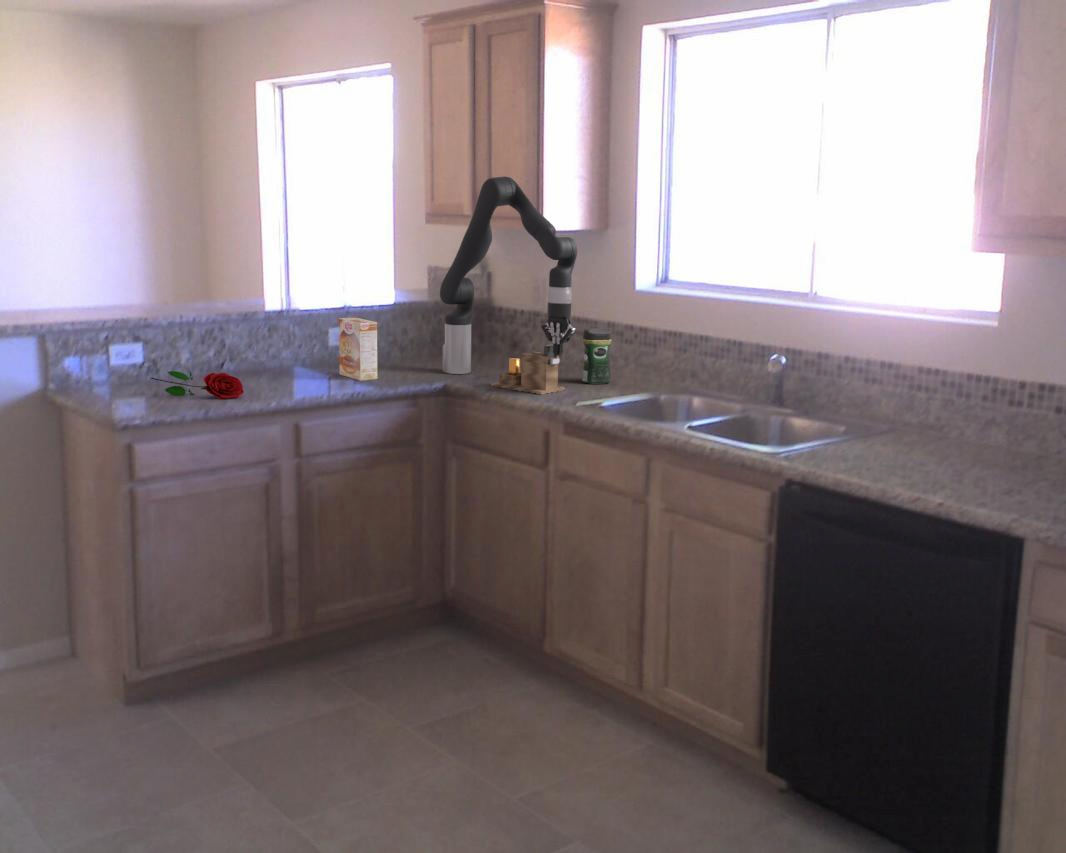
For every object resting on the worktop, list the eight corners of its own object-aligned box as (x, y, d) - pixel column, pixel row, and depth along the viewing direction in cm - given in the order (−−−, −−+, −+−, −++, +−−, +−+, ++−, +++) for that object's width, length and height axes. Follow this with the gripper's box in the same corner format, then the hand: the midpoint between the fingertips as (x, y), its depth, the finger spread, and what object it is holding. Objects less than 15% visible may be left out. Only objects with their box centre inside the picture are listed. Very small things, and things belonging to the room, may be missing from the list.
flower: (146, 358, 342) (241, 370, 339) (158, 368, 351) (250, 380, 348) (139, 386, 339) (235, 399, 336) (151, 396, 348) (244, 408, 345)
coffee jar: (605, 380, 390) (607, 326, 386) (613, 384, 383) (615, 329, 379) (578, 380, 388) (580, 326, 384) (585, 384, 380) (587, 329, 376)
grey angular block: (524, 359, 368) (524, 342, 367) (531, 358, 370) (531, 341, 369) (552, 364, 360) (553, 346, 359) (559, 363, 363) (559, 345, 362)
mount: (491, 386, 373) (491, 350, 371) (515, 382, 382) (515, 347, 380) (540, 394, 360) (541, 357, 357) (564, 390, 369) (565, 354, 366)
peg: (514, 384, 372) (514, 359, 370) (506, 382, 374) (506, 358, 373) (522, 382, 374) (522, 358, 373) (514, 381, 377) (514, 357, 375)
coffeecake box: (338, 374, 389) (338, 317, 385) (357, 373, 393) (356, 317, 389) (359, 380, 377) (359, 322, 373) (378, 379, 382) (378, 321, 378)
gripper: (535, 300, 358) (534, 354, 362) (568, 303, 350) (566, 359, 354) (550, 298, 364) (549, 352, 368) (583, 302, 356) (581, 356, 359)
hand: (557, 355), depth 361 cm, fingers closed
